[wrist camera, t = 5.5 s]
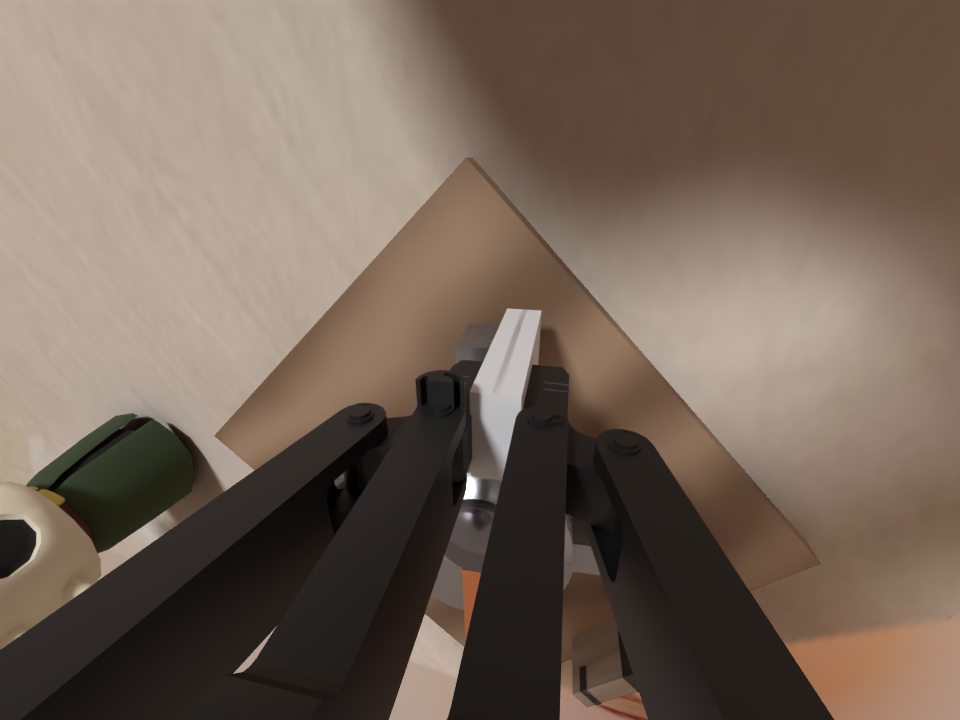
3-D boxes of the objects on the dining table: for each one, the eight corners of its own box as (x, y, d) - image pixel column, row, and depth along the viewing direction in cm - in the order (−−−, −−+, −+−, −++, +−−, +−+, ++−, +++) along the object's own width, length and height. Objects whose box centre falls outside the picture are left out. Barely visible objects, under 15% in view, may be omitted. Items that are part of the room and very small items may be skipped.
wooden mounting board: (229, 424, 25) (169, 471, 21) (472, 157, 17) (445, 156, 13) (509, 663, 30) (500, 738, 26) (808, 543, 22) (859, 626, 18)
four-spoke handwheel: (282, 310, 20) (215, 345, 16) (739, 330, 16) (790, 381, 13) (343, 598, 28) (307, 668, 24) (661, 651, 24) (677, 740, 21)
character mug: (238, 432, 25) (-40, 664, 14) (239, 519, 29) (14, 767, 17) (69, 378, 26) (-333, 555, 14) (88, 468, 29) (-228, 674, 18)
